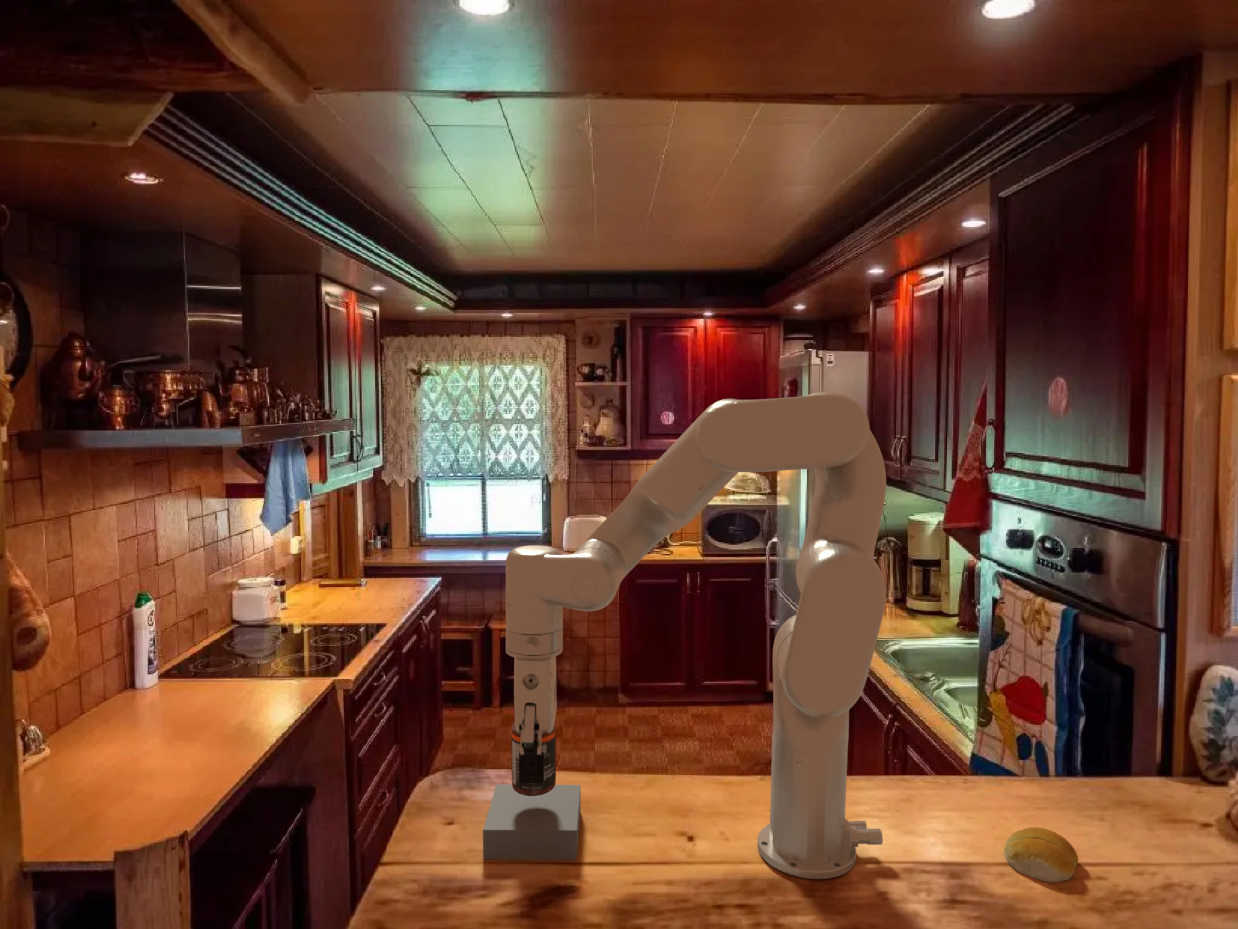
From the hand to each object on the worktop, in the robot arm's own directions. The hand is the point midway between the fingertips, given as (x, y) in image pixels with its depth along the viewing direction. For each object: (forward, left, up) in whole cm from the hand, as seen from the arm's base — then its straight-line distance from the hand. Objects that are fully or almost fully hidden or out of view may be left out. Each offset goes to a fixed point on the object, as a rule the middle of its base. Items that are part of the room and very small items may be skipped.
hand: (533, 769), depth 111 cm
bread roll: (-66, +6, -10) cm, 67 cm away
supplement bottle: (0, 0, -3) cm, 3 cm away
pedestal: (0, 0, -9) cm, 9 cm away
